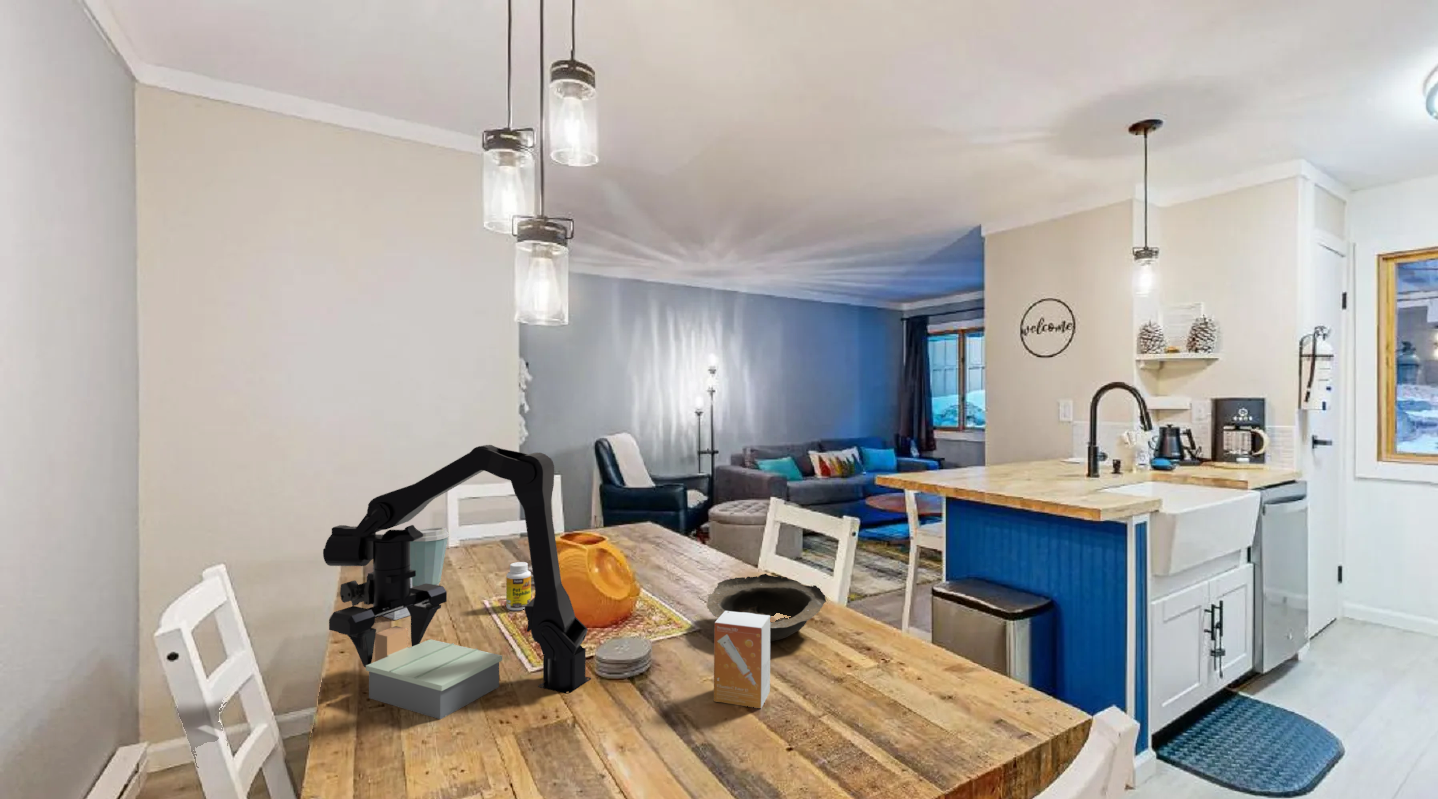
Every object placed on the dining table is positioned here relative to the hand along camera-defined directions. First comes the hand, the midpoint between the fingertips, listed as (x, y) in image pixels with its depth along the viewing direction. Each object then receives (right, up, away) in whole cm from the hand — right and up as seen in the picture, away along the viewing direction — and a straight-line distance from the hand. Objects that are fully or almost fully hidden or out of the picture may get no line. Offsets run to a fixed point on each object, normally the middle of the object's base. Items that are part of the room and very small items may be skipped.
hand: (391, 656), depth 108 cm
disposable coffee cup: (-20, -5, +57) cm, 61 cm away
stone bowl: (+66, -5, +24) cm, 70 cm away
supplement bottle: (+9, -5, +40) cm, 41 cm away
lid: (+8, -2, -4) cm, 9 cm away
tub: (+10, -5, -4) cm, 11 cm away
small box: (+60, -5, -5) cm, 60 cm away
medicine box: (-18, -5, +35) cm, 39 cm away
